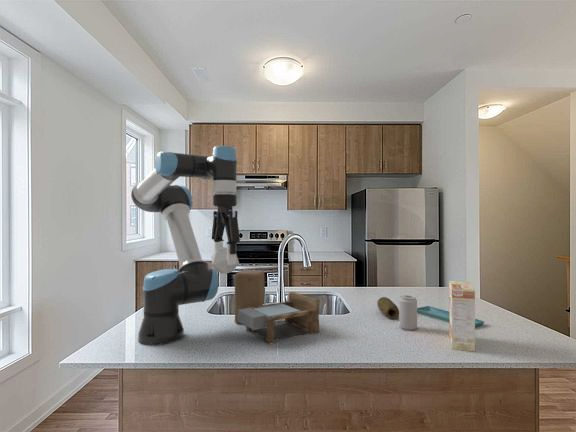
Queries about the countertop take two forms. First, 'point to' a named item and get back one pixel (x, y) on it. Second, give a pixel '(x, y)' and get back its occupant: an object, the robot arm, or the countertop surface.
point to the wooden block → (248, 290)
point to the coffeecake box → (462, 315)
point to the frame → (291, 319)
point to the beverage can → (408, 312)
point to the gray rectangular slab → (262, 315)
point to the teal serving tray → (440, 314)
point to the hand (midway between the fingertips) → (225, 262)
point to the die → (222, 261)
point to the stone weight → (388, 308)
